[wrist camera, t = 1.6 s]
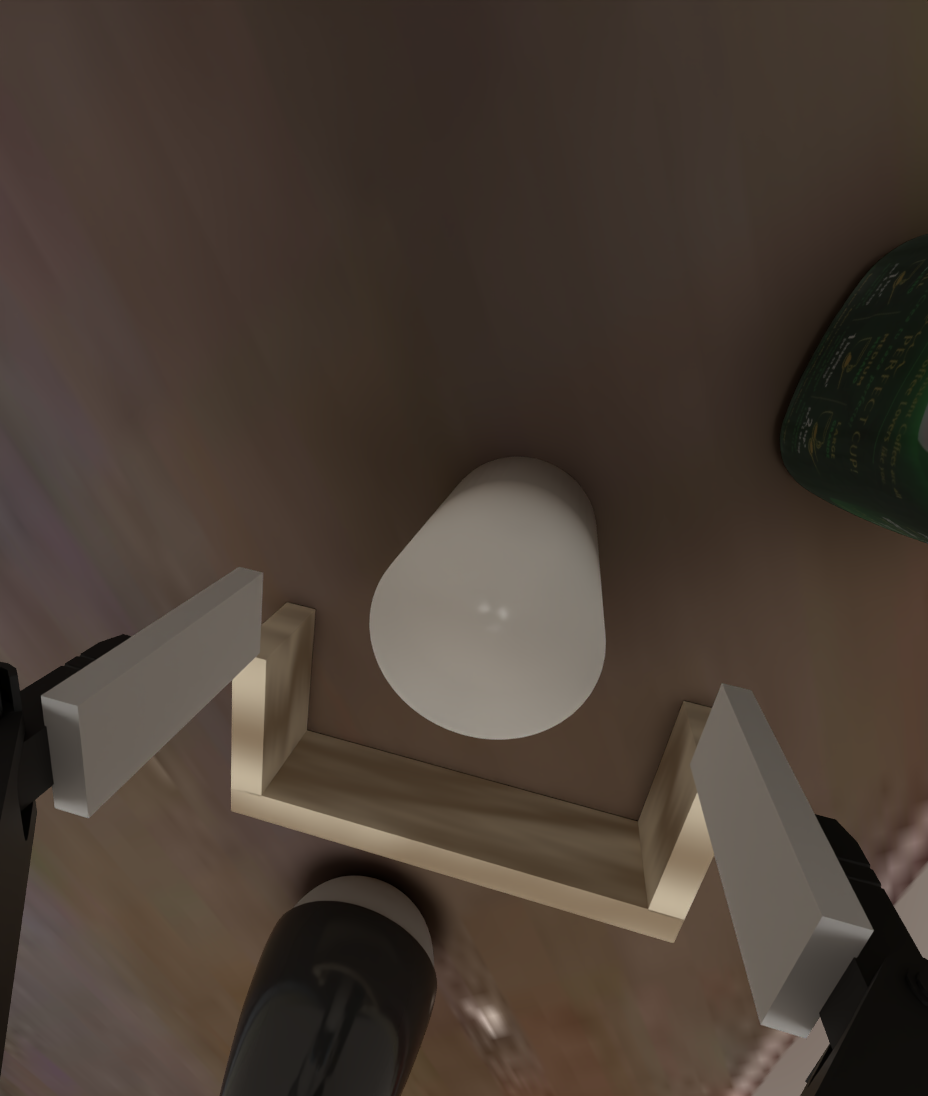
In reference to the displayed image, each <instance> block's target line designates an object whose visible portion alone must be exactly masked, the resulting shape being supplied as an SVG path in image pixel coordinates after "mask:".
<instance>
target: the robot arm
mask: <svg viewBox="0 0 928 1096" xmlns="http://www.w3.org/2000/svg"><path fill="white" fill-rule="evenodd" d="M262 591H263V573H262V572H258V571H254V570H250V569H246V568H242V567H238V568H237V569H235V570H234V571H232V572H230V573H229V574H227V575H226V576H224V577H223V578H221V579H220V580H218V581H217V582H215V583H214V584H212V585H210V586H209V587H207V588H206V589H204V590H203V591H201V592H200V593H198V594H197V595H195V596H193V597H192V598H190V599H189V600H187V601H186V602H184V603H183V604H181V605H180V606H178V607H177V608H175V609H173V610H172V611H170V612H169V613H167V614H166V615H164V616H163V617H161V618H160V619H158V620H157V621H155V622H153V623H152V624H150V625H149V626H147V627H146V628H144V629H143V630H141V631H140V632H138V633H137V634H135V635H133V636H128V635H124V634H122V635H119V636H117V637H114V638H111V639H108V640H105V641H102V642H99V643H98V644H96V645H94V646H93V647H91V648H89V649H88V650H86V651H85V652H83V653H81V655H80V657H78V656H76V657H75V658H73V659H72V660H70V661H68V662H67V663H65V666H60V667H59V668H57V669H55V670H54V671H52V672H51V673H49V674H47V675H46V676H44V677H42V678H41V679H39V680H38V681H36V682H34V683H33V684H31V685H30V686H28V687H26V688H25V689H23V690H21V691H20V689H19V682H18V675H17V670H16V668H15V667H13V666H12V665H10V664H8V663H4V662H0V1075H1V1068H2V1061H3V1053H4V1046H5V1039H6V1032H7V1024H8V1017H9V1010H10V1003H11V996H12V988H13V981H14V974H15V967H16V960H17V952H18V945H19V938H20V931H21V924H22V916H23V909H24V902H25V895H26V888H27V880H28V873H29V866H30V859H31V852H32V844H33V837H34V830H35V823H36V816H37V809H36V802H35V799H37V798H38V797H39V796H40V795H41V794H43V793H44V792H45V791H46V790H47V789H49V788H50V787H51V786H52V789H53V797H54V805H55V808H57V809H60V810H63V811H66V812H70V813H73V814H76V815H80V816H83V817H86V818H89V817H90V816H92V815H93V814H94V813H95V812H96V811H97V810H98V809H99V808H100V807H101V806H102V805H103V804H104V803H105V802H106V801H107V800H108V799H109V798H110V797H111V796H112V795H113V794H114V793H115V792H116V791H117V790H118V789H120V788H121V787H122V786H123V785H124V784H125V783H126V782H127V781H128V780H129V779H130V778H131V777H132V776H133V775H134V774H135V773H136V772H137V771H138V770H139V769H140V768H141V767H142V766H143V765H144V764H145V763H146V762H148V761H149V760H150V759H151V758H152V757H153V756H154V755H155V754H156V753H157V752H158V751H159V750H160V749H161V748H162V747H163V746H164V745H165V744H166V743H167V742H168V741H169V740H170V739H171V738H172V737H173V736H174V735H176V734H177V733H178V732H179V731H180V730H181V729H182V728H183V727H184V726H185V725H186V724H187V723H188V722H189V721H190V720H191V719H192V718H193V717H194V716H195V715H196V714H197V713H198V712H199V711H200V710H201V709H202V708H203V707H205V706H206V705H207V704H208V703H209V702H210V701H211V700H212V699H213V698H214V697H215V696H216V695H217V694H218V693H219V692H220V691H221V690H222V689H223V688H224V687H225V686H226V685H227V684H228V683H229V682H230V681H231V680H233V679H234V678H235V677H236V676H237V675H238V674H239V673H240V672H241V671H242V670H243V669H244V668H245V667H246V666H247V665H248V664H249V663H250V662H251V661H252V660H253V659H254V658H255V657H256V656H257V655H258V654H259V653H260V639H261V615H262ZM690 767H691V771H692V774H693V778H694V782H695V785H696V789H697V793H698V796H699V800H700V804H701V807H702V811H703V815H704V818H705V822H706V826H707V829H708V833H709V837H710V840H711V844H712V848H713V851H714V855H715V859H716V863H717V866H718V870H719V874H720V877H721V881H722V885H723V888H724V892H725V896H726V899H727V903H728V907H729V910H730V914H731V918H732V921H733V925H734V929H735V932H736V936H737V940H738V944H739V947H740V951H741V955H742V958H743V962H744V966H745V969H746V973H747V977H748V980H749V984H750V988H751V991H752V995H753V999H754V1002H755V1006H756V1010H757V1013H758V1017H759V1021H760V1024H761V1025H764V1026H767V1027H770V1028H773V1029H777V1030H780V1031H783V1032H786V1033H790V1034H793V1035H796V1036H799V1037H803V1038H807V1036H808V1035H809V1033H810V1032H811V1030H812V1028H813V1027H814V1025H815V1024H816V1022H817V1021H818V1019H819V1017H821V1020H822V1023H823V1026H824V1028H825V1031H826V1034H827V1036H828V1039H829V1042H830V1044H829V1046H828V1047H827V1049H826V1050H825V1052H824V1053H823V1055H822V1056H821V1058H820V1060H819V1061H818V1062H817V1064H816V1066H815V1067H814V1069H813V1070H812V1072H811V1073H810V1075H809V1076H808V1078H807V1080H806V1082H807V1084H806V1086H805V1088H804V1090H803V1092H802V1094H801V1096H928V960H927V959H925V958H923V957H922V956H921V954H920V952H919V950H918V949H917V947H916V945H915V943H914V941H913V940H912V938H911V936H910V934H909V933H908V931H907V929H906V927H905V926H904V924H903V922H902V920H901V918H900V917H899V915H898V913H897V912H896V910H895V908H894V906H893V904H892V903H891V901H890V899H889V897H888V896H887V894H886V892H885V890H884V889H882V888H881V883H880V881H879V880H878V878H877V876H876V874H875V873H874V871H873V870H872V869H870V864H869V862H868V860H867V859H866V857H865V855H864V853H863V851H862V850H861V848H860V846H859V844H858V843H857V841H856V840H855V839H854V838H853V837H852V836H851V835H850V834H849V833H848V832H847V831H846V830H845V829H844V828H843V827H842V826H841V825H840V824H839V823H838V822H837V820H835V819H831V818H827V817H824V816H820V815H816V814H814V812H813V810H812V808H811V806H810V804H809V802H808V800H807V798H806V796H805V794H804V792H803V791H802V789H801V787H800V785H799V783H798V781H797V779H796V777H795V775H794V773H793V771H792V769H791V767H790V765H789V763H788V761H787V759H786V757H785V755H784V753H783V751H782V749H781V747H780V745H779V743H778V742H777V740H776V738H775V736H774V734H773V732H772V730H771V728H770V726H769V724H768V722H767V720H766V718H765V716H764V714H763V712H762V710H761V708H760V706H759V704H758V702H757V700H756V698H755V696H754V694H753V692H752V691H751V690H748V689H744V688H739V687H735V686H731V685H727V684H723V683H722V684H721V687H720V689H719V692H718V694H717V697H716V699H715V702H714V704H713V707H712V709H711V712H710V714H709V717H708V720H707V722H706V725H705V727H704V730H703V732H702V735H701V737H700V740H699V742H698V745H697V747H696V750H695V753H694V755H693V758H692V760H691V763H690Z"/></svg>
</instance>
